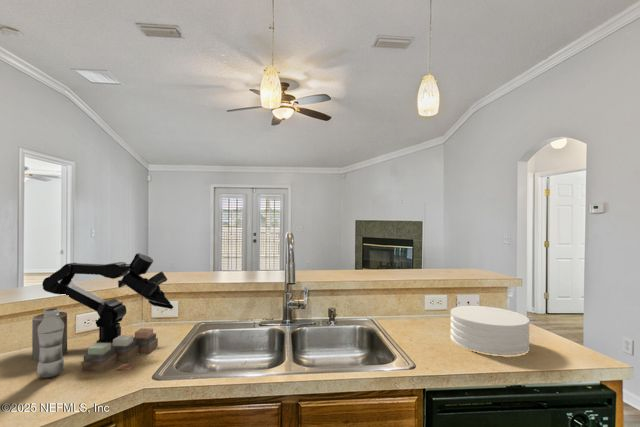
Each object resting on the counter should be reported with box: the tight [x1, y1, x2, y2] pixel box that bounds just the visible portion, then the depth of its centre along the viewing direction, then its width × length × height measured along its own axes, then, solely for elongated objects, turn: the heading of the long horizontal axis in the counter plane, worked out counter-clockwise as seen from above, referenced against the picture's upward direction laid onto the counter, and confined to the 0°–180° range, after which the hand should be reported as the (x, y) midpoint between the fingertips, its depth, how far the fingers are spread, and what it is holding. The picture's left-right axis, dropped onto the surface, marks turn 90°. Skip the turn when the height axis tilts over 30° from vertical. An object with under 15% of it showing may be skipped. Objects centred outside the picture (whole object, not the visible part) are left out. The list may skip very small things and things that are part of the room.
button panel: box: [80, 332, 159, 373], centre depth 120 cm, size 14×22×5 cm, turn 1°
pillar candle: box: [31, 311, 68, 361], centre depth 122 cm, size 10×10×15 cm
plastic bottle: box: [36, 307, 65, 379], centre depth 106 cm, size 6×7×20 cm
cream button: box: [112, 334, 134, 346], centre depth 120 cm, size 4×4×2 cm
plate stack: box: [449, 305, 531, 355], centre depth 139 cm, size 28×28×12 cm
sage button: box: [87, 342, 112, 355], centre depth 112 cm, size 4×4×2 cm
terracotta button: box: [134, 327, 154, 338], centre depth 128 cm, size 4×4×2 cm
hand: (171, 305), depth 137 cm, fingers open, 9 cm apart
